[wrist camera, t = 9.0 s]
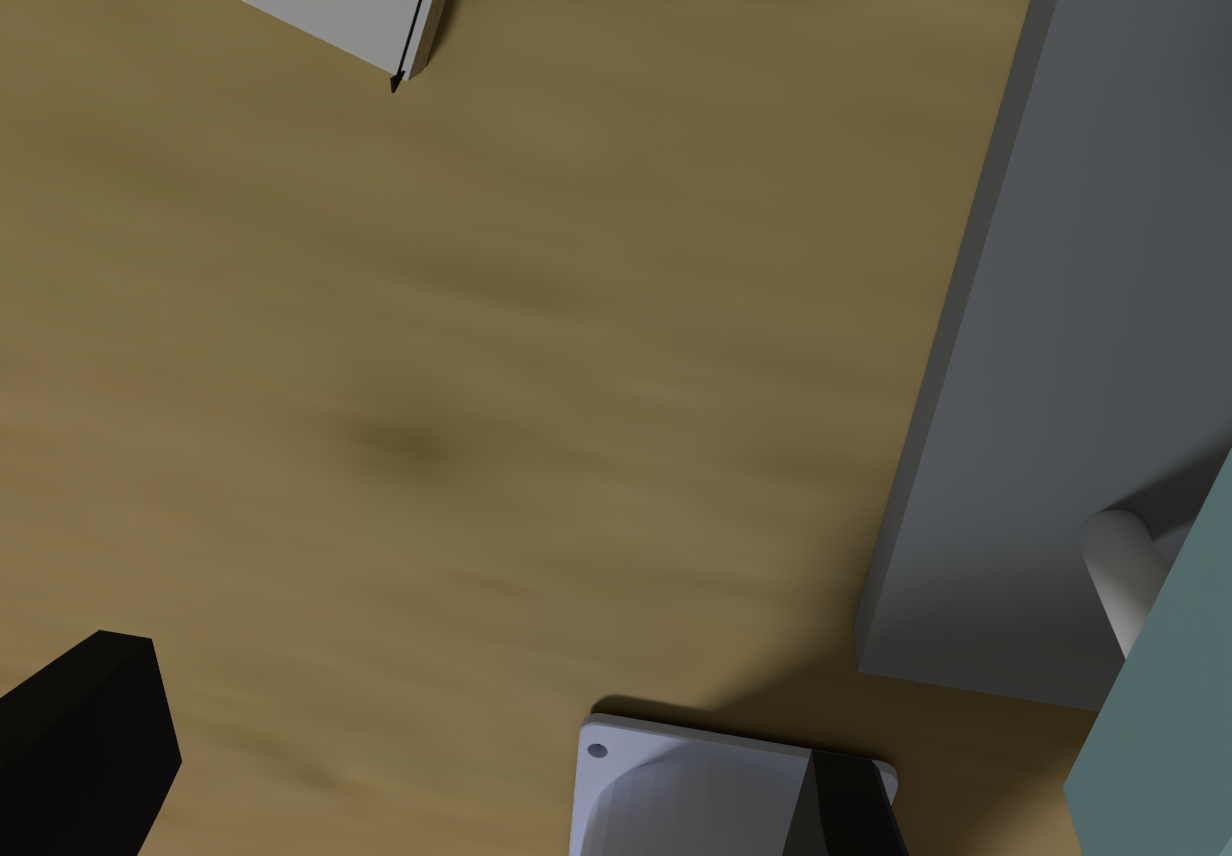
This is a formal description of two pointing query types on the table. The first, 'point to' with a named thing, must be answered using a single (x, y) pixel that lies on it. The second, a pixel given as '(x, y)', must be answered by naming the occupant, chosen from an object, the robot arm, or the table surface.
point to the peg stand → (1069, 365)
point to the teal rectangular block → (1169, 714)
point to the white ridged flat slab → (368, 29)
